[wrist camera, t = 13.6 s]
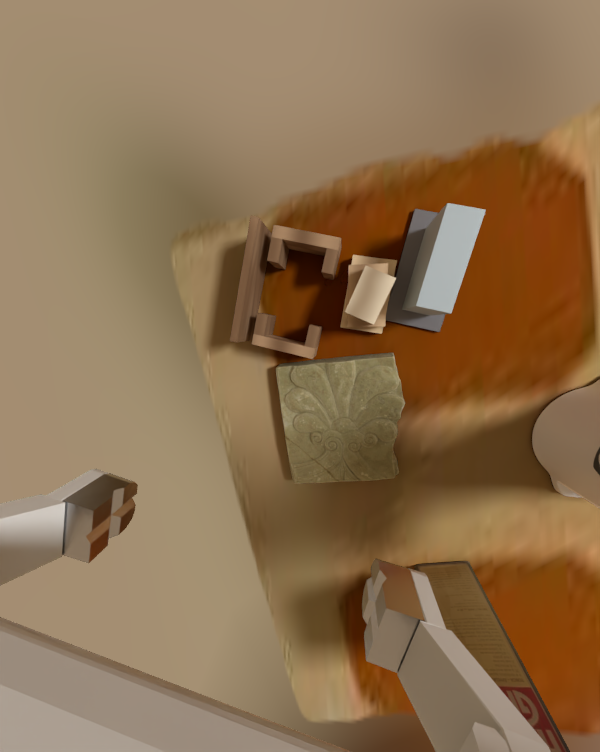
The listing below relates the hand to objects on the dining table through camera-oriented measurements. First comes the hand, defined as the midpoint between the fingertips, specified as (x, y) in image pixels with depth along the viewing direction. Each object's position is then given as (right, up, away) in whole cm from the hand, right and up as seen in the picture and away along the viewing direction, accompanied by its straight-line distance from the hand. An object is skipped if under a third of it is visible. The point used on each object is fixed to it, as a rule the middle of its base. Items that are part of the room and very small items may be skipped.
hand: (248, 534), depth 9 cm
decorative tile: (+9, -2, +37) cm, 38 cm away
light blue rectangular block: (+19, +20, +30) cm, 40 cm away
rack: (0, +17, +34) cm, 38 cm away
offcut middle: (+11, +16, +30) cm, 36 cm away
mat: (+20, +20, +30) cm, 41 cm away
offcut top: (+11, +16, +28) cm, 34 cm away
